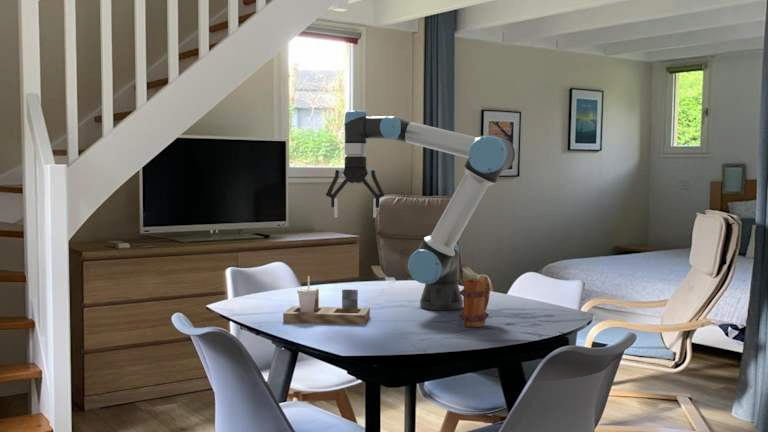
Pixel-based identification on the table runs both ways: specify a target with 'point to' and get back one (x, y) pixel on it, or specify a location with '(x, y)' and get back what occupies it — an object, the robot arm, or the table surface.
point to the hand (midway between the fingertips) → (355, 217)
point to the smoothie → (307, 298)
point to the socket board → (331, 312)
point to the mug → (475, 301)
